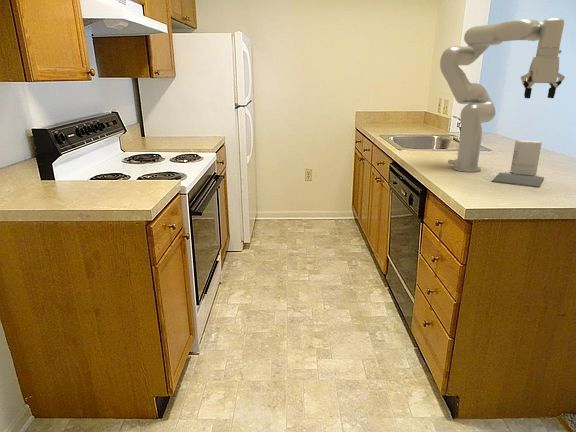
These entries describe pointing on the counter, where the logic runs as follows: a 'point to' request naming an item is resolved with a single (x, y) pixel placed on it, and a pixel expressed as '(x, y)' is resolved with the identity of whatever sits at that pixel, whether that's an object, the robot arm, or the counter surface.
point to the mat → (518, 179)
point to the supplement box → (525, 157)
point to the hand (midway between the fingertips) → (538, 98)
